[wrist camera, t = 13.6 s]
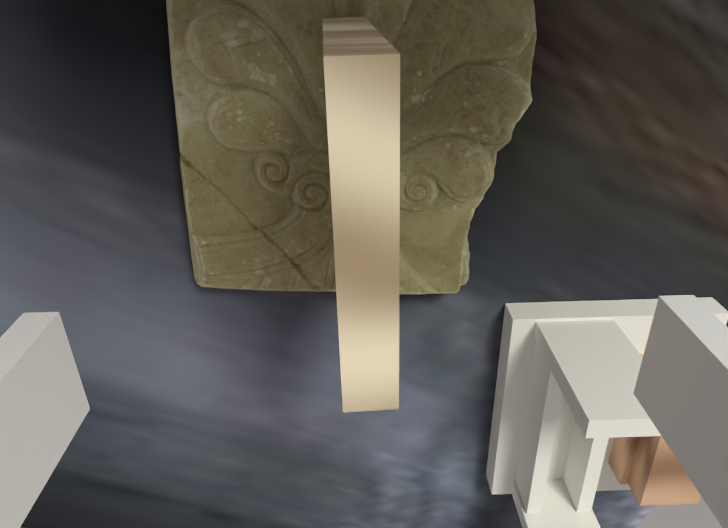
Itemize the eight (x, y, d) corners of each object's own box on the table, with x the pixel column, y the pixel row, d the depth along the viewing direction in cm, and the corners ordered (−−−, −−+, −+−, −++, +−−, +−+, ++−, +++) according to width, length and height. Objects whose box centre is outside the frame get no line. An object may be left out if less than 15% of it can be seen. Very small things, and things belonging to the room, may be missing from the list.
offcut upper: (651, 394, 37) (666, 416, 35) (712, 392, 37) (730, 414, 35) (627, 482, 40) (640, 505, 39) (682, 480, 40) (697, 503, 39)
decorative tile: (201, 269, 37) (188, 297, 34) (173, -88, 28) (150, -95, 25) (482, 281, 38) (493, 310, 35) (543, -61, 29) (567, -65, 26)
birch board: (322, 18, 27) (322, 56, 15) (364, 16, 27) (400, 53, 15) (334, 244, 32) (342, 412, 20) (369, 242, 33) (398, 408, 20)
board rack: (505, 303, 38) (559, 418, 28) (712, 297, 38) (837, 409, 28) (485, 474, 45) (523, 612, 35) (659, 468, 45) (744, 604, 36)
